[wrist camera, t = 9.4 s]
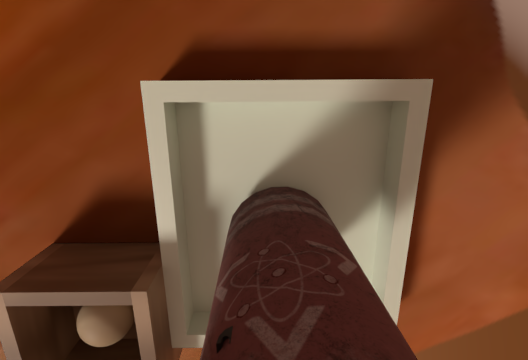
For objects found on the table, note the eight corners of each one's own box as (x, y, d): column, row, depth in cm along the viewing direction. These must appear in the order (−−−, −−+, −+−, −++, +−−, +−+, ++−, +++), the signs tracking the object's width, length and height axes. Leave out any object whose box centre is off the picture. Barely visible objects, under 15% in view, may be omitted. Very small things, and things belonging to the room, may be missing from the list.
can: (207, 246, 18) (69, 661, 5) (268, 163, 17) (310, 412, 4) (287, 295, 19) (356, 747, 6) (349, 220, 18) (622, 580, 5)
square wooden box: (52, 243, 20) (-15, 292, 15) (174, 242, 20) (146, 291, 15) (75, 341, 22) (23, 411, 17) (184, 340, 22) (163, 410, 17)
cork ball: (90, 280, 20) (59, 315, 17) (139, 279, 20) (116, 314, 17) (98, 320, 21) (70, 360, 18) (145, 319, 21) (124, 359, 18)
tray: (158, 82, 17) (140, 80, 14) (408, 80, 17) (433, 79, 14) (182, 317, 21) (172, 348, 19) (378, 316, 21) (393, 346, 19)
